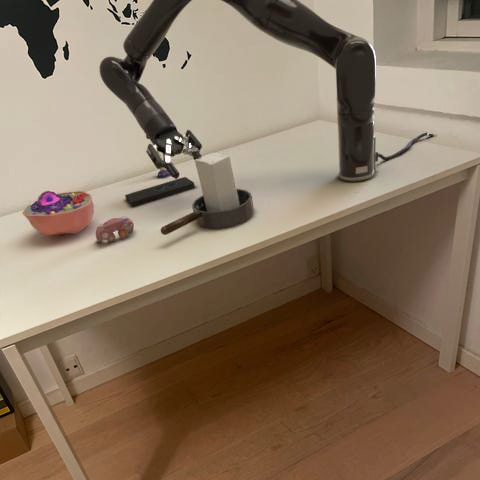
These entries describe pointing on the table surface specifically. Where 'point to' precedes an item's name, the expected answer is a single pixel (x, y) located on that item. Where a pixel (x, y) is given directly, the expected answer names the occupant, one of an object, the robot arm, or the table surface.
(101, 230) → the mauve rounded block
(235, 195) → the cosmetic box
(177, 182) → the smart home device
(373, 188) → the table surface
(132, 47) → the robot arm
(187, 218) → the pan handle
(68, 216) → the cell model
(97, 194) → the table surface
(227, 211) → the pan
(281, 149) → the table surface
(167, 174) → the toy lamp
